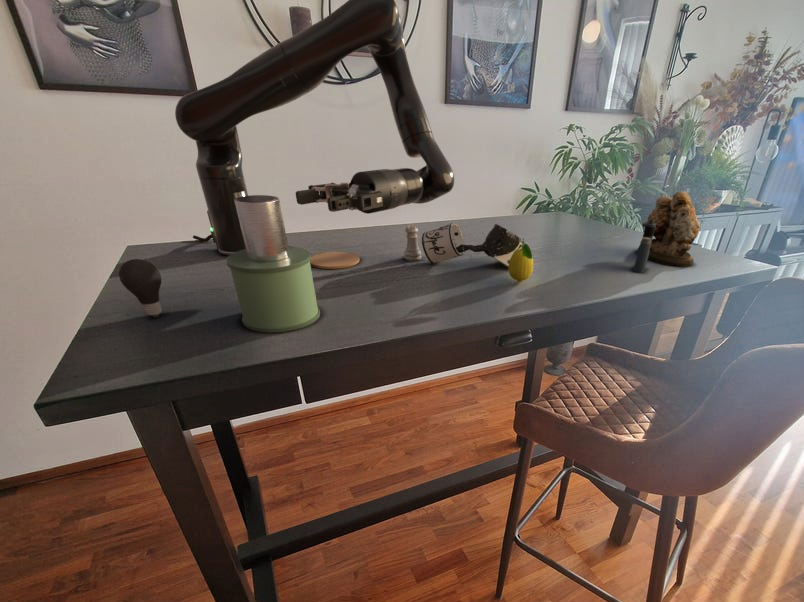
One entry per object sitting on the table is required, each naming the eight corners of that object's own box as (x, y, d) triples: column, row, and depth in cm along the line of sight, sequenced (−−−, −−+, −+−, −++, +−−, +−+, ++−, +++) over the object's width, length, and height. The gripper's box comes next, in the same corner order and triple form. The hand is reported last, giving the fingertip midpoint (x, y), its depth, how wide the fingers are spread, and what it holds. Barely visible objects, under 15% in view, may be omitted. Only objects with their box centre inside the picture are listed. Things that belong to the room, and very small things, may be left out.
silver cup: (239, 257, 72) (224, 198, 68) (272, 248, 77) (260, 193, 72) (266, 264, 70) (252, 204, 65) (298, 255, 75) (287, 198, 70)
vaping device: (645, 267, 113) (658, 219, 107) (643, 273, 109) (655, 223, 103) (635, 266, 114) (647, 218, 108) (632, 271, 110) (644, 222, 104)
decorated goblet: (421, 270, 105) (419, 226, 99) (424, 257, 113) (423, 217, 108) (526, 273, 106) (531, 230, 100) (522, 260, 114) (525, 220, 109)
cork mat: (297, 262, 105) (296, 260, 105) (334, 251, 114) (333, 248, 114) (334, 272, 101) (334, 269, 100) (369, 259, 110) (369, 257, 109)
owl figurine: (624, 250, 127) (638, 186, 118) (654, 246, 132) (669, 184, 122) (672, 269, 114) (692, 198, 104) (703, 264, 118) (725, 196, 109)
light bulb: (147, 309, 80) (125, 254, 74) (180, 309, 80) (161, 254, 75) (129, 322, 75) (104, 264, 70) (164, 322, 76) (142, 265, 70)
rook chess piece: (423, 256, 113) (422, 224, 109) (419, 261, 110) (418, 228, 105) (406, 255, 114) (404, 223, 109) (402, 260, 110) (400, 227, 106)
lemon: (528, 289, 96) (533, 243, 91) (503, 285, 98) (506, 239, 93) (536, 280, 102) (541, 236, 96) (511, 276, 103) (515, 232, 98)
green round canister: (226, 320, 77) (208, 258, 71) (286, 297, 87) (275, 241, 81) (277, 339, 72) (262, 274, 66) (335, 313, 82) (326, 254, 76)
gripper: (352, 166, 89) (283, 173, 78) (405, 174, 83) (337, 183, 72) (357, 205, 94) (291, 217, 82) (407, 215, 87) (343, 230, 76)
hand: (313, 201), depth 77 cm, fingers open, 8 cm apart
